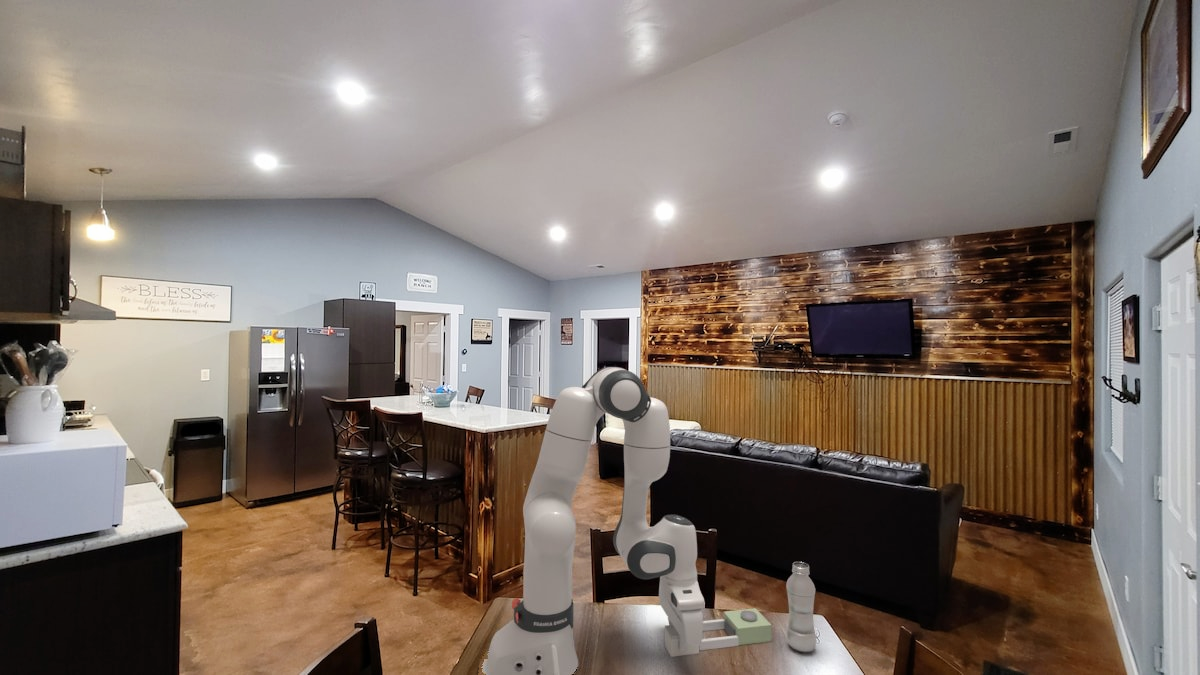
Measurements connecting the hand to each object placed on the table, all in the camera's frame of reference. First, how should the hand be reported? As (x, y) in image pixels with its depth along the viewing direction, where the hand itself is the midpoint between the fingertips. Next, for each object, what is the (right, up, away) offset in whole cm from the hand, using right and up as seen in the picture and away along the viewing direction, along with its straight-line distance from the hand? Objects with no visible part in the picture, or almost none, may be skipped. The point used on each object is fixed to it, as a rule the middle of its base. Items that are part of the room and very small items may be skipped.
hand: (678, 642), depth 119 cm
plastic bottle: (+30, -2, +1) cm, 30 cm away
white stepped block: (+1, -2, 0) cm, 2 cm away
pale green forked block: (+14, -2, +6) cm, 15 cm away
